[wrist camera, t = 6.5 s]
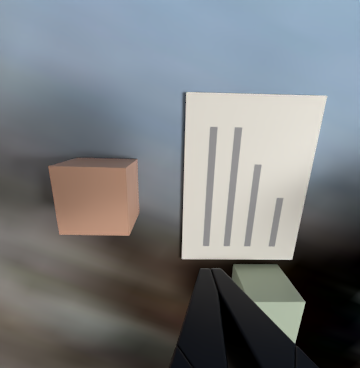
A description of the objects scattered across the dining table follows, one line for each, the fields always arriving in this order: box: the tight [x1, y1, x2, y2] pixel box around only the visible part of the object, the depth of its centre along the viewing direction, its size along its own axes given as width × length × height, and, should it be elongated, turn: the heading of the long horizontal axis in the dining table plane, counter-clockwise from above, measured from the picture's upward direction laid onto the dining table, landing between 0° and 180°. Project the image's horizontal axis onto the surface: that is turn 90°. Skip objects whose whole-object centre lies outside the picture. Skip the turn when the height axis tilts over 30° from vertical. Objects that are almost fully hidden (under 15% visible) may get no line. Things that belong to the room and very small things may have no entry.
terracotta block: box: [48, 158, 139, 236], centre depth 15 cm, size 5×5×4 cm
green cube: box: [232, 264, 305, 343], centre depth 18 cm, size 4×4×4 cm
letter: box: [182, 92, 327, 260], centre depth 17 cm, size 15×11×1 cm
